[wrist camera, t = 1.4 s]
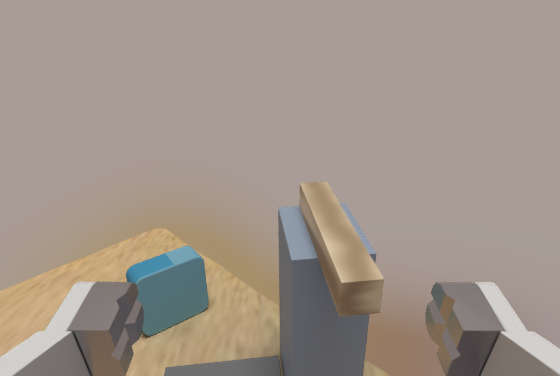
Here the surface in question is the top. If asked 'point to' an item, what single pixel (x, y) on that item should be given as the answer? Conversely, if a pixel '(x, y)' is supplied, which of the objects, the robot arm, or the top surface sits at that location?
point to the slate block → (314, 307)
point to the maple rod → (340, 252)
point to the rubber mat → (230, 368)
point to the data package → (170, 288)
